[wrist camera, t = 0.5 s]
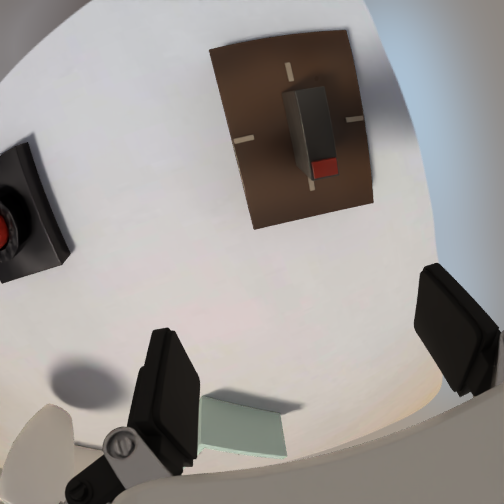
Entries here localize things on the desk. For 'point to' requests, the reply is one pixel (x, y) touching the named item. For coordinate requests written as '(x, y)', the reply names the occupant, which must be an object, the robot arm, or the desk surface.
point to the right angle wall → (239, 429)
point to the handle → (311, 132)
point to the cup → (40, 460)
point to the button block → (27, 219)
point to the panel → (277, 130)
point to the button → (3, 232)
